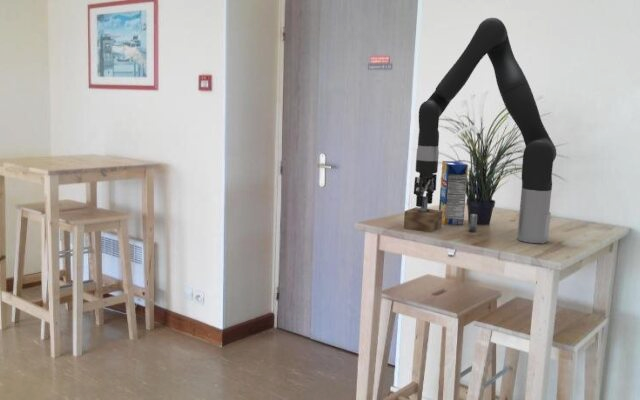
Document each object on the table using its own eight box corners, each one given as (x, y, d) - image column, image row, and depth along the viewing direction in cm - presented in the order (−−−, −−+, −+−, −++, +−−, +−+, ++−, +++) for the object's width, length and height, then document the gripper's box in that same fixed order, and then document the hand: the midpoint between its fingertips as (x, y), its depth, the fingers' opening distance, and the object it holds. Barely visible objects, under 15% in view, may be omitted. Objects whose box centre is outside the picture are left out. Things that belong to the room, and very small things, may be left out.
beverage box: (444, 224, 225) (448, 164, 221) (438, 218, 235) (442, 160, 232) (463, 225, 225) (468, 164, 221) (456, 219, 236) (460, 161, 232)
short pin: (476, 231, 215) (478, 214, 214) (474, 232, 213) (476, 215, 212) (470, 230, 216) (471, 213, 215) (467, 231, 214) (469, 214, 213)
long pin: (426, 227, 218) (429, 196, 216) (424, 228, 216) (426, 197, 214) (420, 226, 219) (422, 196, 218) (417, 227, 217) (420, 196, 216)
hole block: (441, 227, 219) (442, 210, 218) (430, 232, 211) (431, 214, 210) (415, 223, 225) (416, 207, 224) (403, 227, 216) (404, 211, 215)
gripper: (429, 161, 206) (426, 209, 209) (444, 158, 218) (441, 203, 221) (408, 159, 210) (405, 206, 212) (425, 156, 222) (422, 201, 224)
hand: (424, 205), depth 216 cm, fingers open, 8 cm apart
